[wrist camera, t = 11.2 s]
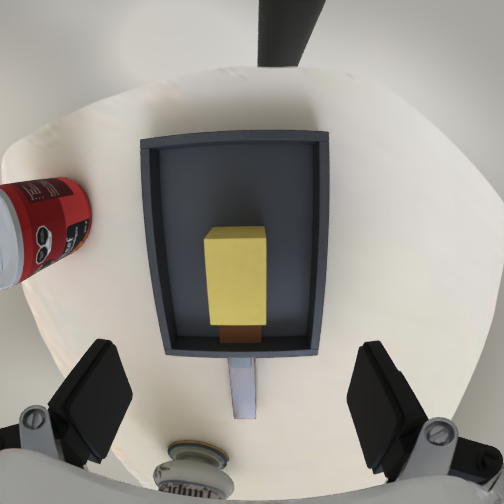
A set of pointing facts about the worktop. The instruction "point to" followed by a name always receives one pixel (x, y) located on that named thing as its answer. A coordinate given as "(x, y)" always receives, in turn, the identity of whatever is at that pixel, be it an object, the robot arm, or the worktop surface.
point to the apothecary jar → (194, 471)
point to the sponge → (236, 275)
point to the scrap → (240, 333)
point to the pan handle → (243, 387)
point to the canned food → (40, 225)
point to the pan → (232, 215)
